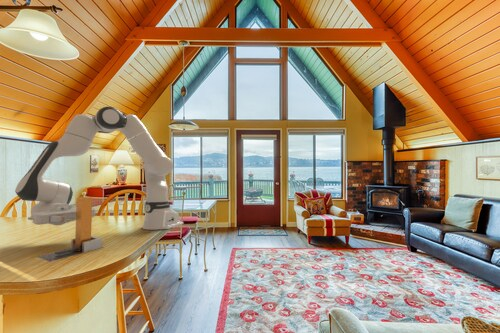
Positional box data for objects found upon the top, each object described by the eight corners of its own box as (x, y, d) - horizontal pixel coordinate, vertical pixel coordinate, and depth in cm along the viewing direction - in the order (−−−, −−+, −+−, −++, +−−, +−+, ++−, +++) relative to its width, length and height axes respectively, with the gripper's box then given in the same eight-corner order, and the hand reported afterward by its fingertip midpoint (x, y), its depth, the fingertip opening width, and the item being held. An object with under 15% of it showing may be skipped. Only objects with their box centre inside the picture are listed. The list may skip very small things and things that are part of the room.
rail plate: (90, 245, 96) (90, 243, 96) (103, 249, 92) (103, 247, 92) (37, 258, 81) (37, 256, 81) (49, 263, 77) (49, 261, 77)
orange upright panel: (86, 245, 93) (87, 196, 93) (93, 247, 90) (94, 197, 91) (52, 253, 83) (54, 199, 84) (59, 256, 81) (61, 199, 82)
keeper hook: (89, 244, 96) (89, 235, 96) (102, 247, 91) (102, 238, 91) (71, 248, 90) (71, 239, 90) (83, 252, 86) (84, 242, 86)
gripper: (25, 209, 90) (43, 212, 83) (84, 203, 108) (102, 206, 101) (25, 226, 90) (42, 230, 83) (84, 218, 108) (102, 221, 101)
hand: (76, 217), depth 92 cm, fingers open, 8 cm apart
